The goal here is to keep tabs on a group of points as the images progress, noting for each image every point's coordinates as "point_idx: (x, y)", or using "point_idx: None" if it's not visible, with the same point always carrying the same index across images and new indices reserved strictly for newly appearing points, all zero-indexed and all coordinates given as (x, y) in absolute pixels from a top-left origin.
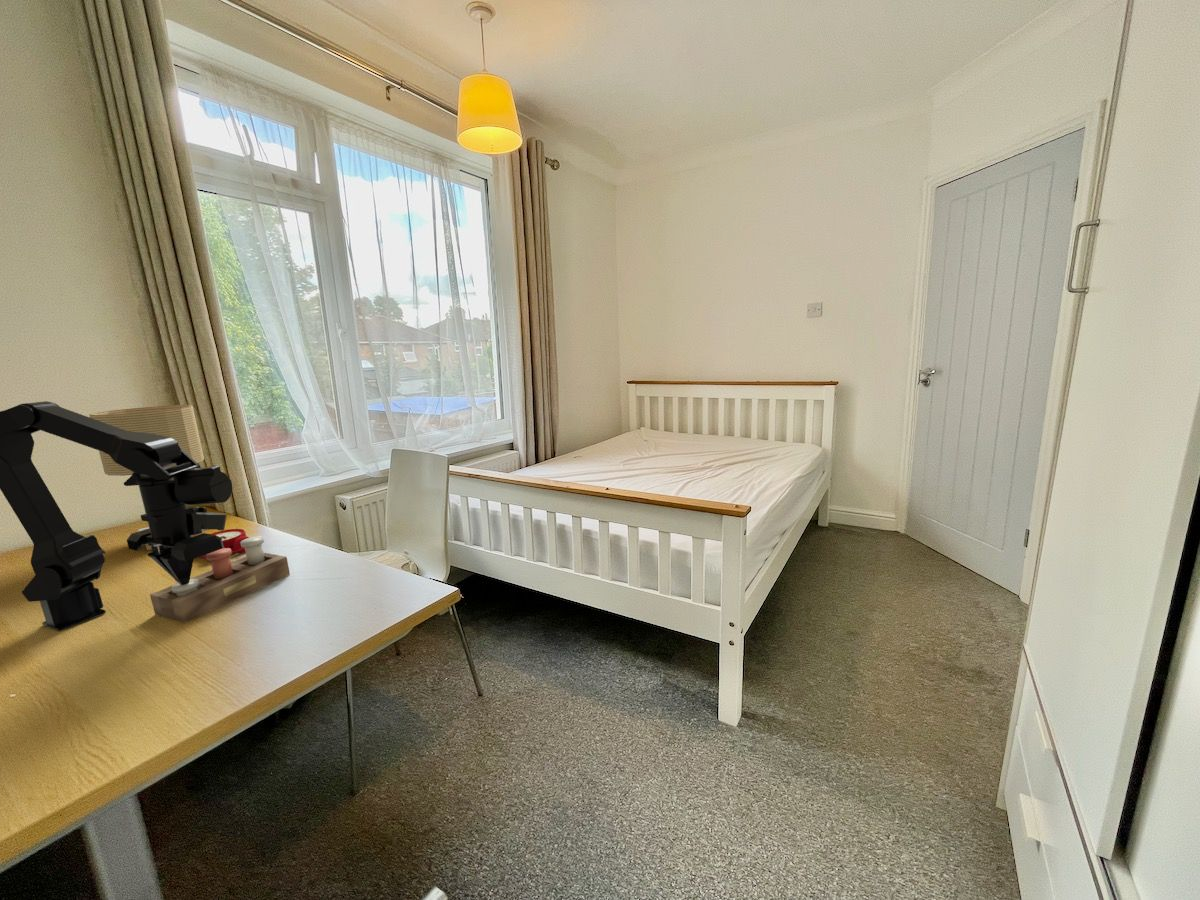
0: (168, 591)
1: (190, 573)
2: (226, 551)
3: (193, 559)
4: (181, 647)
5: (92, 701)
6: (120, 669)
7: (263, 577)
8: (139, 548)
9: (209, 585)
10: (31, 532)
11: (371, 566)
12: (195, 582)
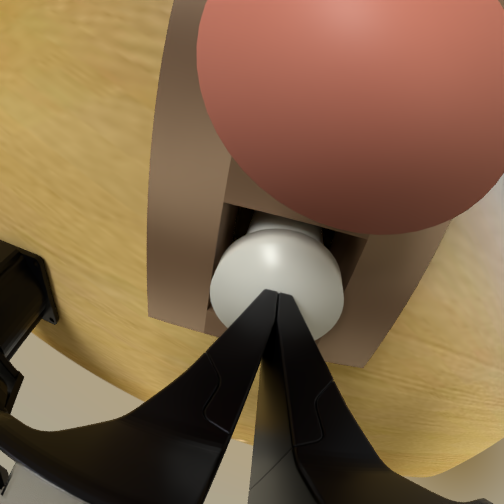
0: (199, 296)
1: (311, 338)
2: (494, 58)
3: (367, 440)
4: (429, 374)
5: (379, 445)
6: (356, 417)
7: None
8: (5, 479)
9: (386, 238)
10: None
11: None
12: (331, 287)
